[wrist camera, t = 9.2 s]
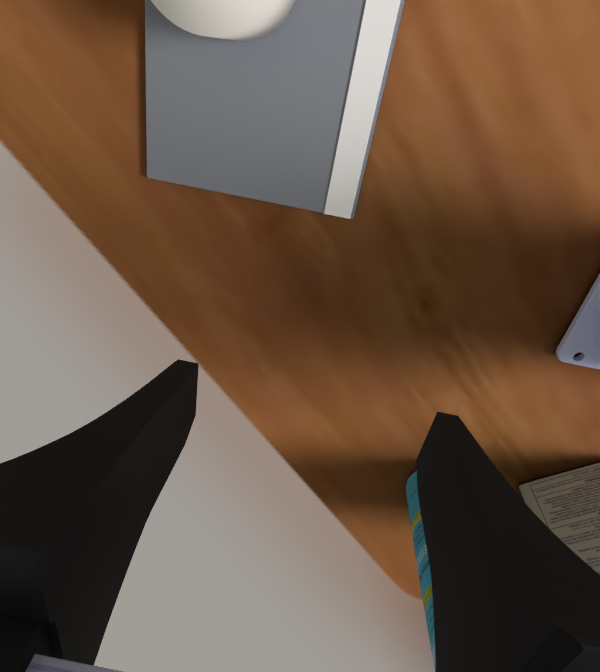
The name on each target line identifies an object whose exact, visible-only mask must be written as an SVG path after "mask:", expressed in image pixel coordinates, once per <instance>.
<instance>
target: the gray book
mask: <svg viewBox="0 0 600 672" xmlns="http://www.w3.org/2000/svg"><path fill="white" fill-rule="evenodd" d="M404 2H405V0H296V2H295V4H294V7H293V9H292V10H291V12H290V14H289V16H288V17H287V18H286V20H285V21H284V22H283V23H282V24H281V25H280V26H279V28H278V29H276V30H275V31H274V32H272V33H271V34H269V35H267V36H266V37H264V38H261V39H258V40H254V41H245V42H242V41H234V40H227V39H220V38H213V37H206V36H200V35H196V34H193V33H190V32H188V31H185V30H183V29H181V28H180V27H178V26H177V25H175V24H173V23H172V22H171V21H170V20H168V19H167V18H166V17H165V16H164V15H163V14H162V13H161V12H160V11H159V10H158V9H157V8H156V7H155V5H154V4H153V3H152V1H151V0H145V55H146V136H147V178H151V179H156V180H161V181H166V182H171V183H176V184H181V185H186V186H191V187H196V188H201V189H206V190H211V191H216V192H221V193H226V194H231V195H236V196H241V197H246V198H251V199H256V200H261V201H266V202H271V203H276V204H281V205H286V206H291V207H296V208H301V209H306V210H311V211H316V212H321V213H324V214H328V215H333V216H338V217H343V218H348V219H350V218H351V219H354V215H355V210H356V206H357V202H358V198H359V193H360V189H361V185H362V181H363V176H364V172H365V168H366V164H367V159H368V155H369V151H370V147H371V142H372V138H373V134H374V130H375V125H376V121H377V117H378V113H379V108H380V104H381V100H382V96H383V91H384V87H385V83H386V78H387V74H388V70H389V66H390V61H391V57H392V53H393V49H394V44H395V40H396V36H397V32H398V27H399V23H400V19H401V15H402V10H403V6H404Z"/></svg>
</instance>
